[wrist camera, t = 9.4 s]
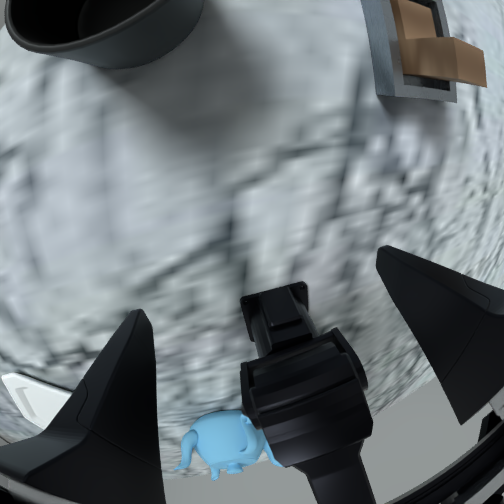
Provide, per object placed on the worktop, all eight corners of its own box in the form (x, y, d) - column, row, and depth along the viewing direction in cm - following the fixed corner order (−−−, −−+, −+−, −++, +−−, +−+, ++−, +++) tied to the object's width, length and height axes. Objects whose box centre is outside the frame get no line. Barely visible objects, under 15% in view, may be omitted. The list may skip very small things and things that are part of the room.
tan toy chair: (426, 78, 16) (486, 87, 11) (394, 73, 16) (458, 78, 10) (415, 10, 13) (473, 5, 7) (382, 1, 12) (441, -14, 6)
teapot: (255, 394, 36) (270, 455, 28) (276, 423, 45) (289, 468, 36) (168, 414, 36) (172, 471, 28) (206, 439, 45) (213, 483, 36)
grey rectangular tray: (438, 99, 18) (456, 103, 16) (376, 94, 17) (395, 96, 15) (422, -1, 12) (440, -4, 10) (354, -21, 11) (371, -29, 9)
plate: (130, 444, 44) (130, 452, 42) (29, 415, 35) (27, 423, 33) (140, 401, 34) (140, 414, 32) (-2, 355, 24) (-6, 366, 23)
